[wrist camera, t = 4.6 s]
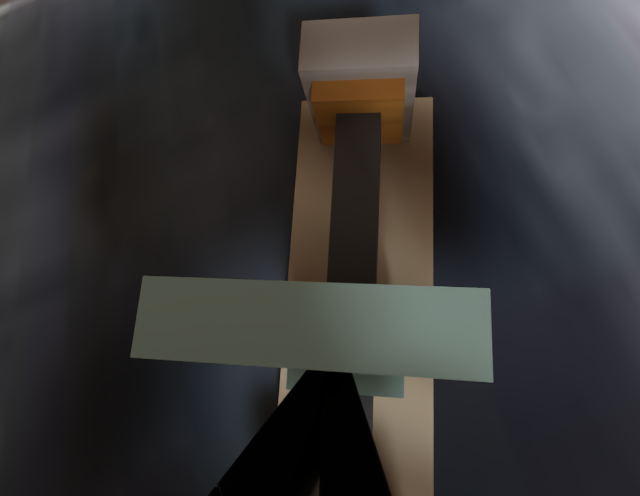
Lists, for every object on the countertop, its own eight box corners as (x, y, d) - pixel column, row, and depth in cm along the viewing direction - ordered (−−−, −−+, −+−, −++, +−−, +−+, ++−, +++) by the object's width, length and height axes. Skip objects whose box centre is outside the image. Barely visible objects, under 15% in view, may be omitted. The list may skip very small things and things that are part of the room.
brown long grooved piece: (430, 602, 16) (458, 755, 10) (270, 578, 17) (206, 704, 11) (430, 109, 20) (449, 7, 14) (305, 112, 21) (274, 17, 15)
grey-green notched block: (422, 390, 15) (495, 458, 5) (285, 380, 16) (119, 423, 6) (423, 306, 16) (488, 223, 6) (291, 300, 17) (151, 219, 7)
